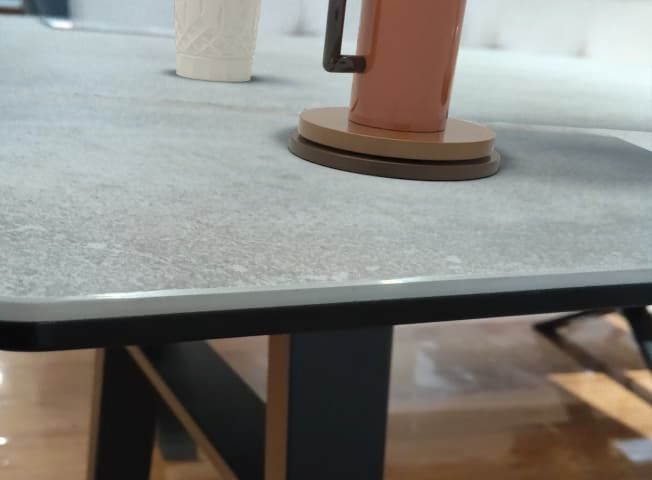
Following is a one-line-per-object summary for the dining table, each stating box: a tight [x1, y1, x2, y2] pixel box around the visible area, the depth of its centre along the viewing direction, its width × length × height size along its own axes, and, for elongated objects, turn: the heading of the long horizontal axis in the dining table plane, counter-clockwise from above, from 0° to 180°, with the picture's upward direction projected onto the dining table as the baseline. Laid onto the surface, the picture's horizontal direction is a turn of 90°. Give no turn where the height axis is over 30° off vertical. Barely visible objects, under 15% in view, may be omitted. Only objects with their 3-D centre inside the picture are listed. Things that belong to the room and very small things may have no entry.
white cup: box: [173, 0, 262, 83], centre depth 78 cm, size 8×8×10 cm
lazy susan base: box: [287, 127, 501, 181], centre depth 55 cm, size 13×13×1 cm
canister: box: [297, 0, 497, 161], centre depth 52 cm, size 12×12×13 cm
